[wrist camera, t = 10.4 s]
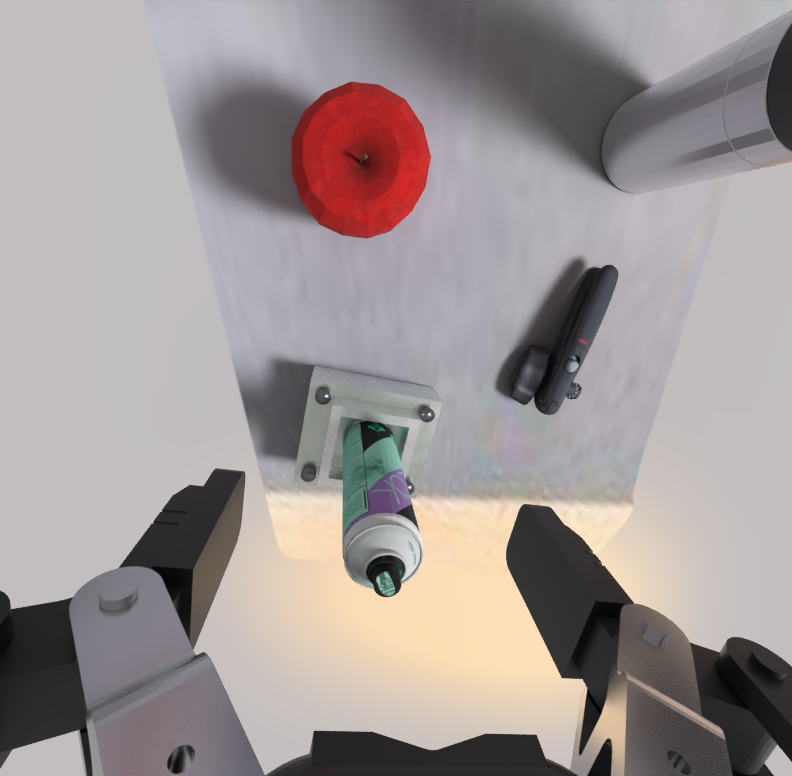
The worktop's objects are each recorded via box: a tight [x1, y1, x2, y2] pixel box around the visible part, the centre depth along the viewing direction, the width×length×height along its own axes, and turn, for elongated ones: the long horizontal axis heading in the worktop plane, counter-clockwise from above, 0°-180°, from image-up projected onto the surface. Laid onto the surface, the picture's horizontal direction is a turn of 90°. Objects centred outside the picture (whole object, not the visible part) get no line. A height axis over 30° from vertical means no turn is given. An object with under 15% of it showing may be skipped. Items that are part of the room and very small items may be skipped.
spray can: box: [343, 419, 423, 597], centre depth 34 cm, size 6×6×20 cm
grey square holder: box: [293, 365, 443, 498], centre depth 44 cm, size 14×12×8 cm
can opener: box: [510, 265, 618, 415], centre depth 45 cm, size 18×7×6 cm, turn 155°
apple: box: [292, 82, 431, 238], centre depth 33 cm, size 11×10×14 cm
